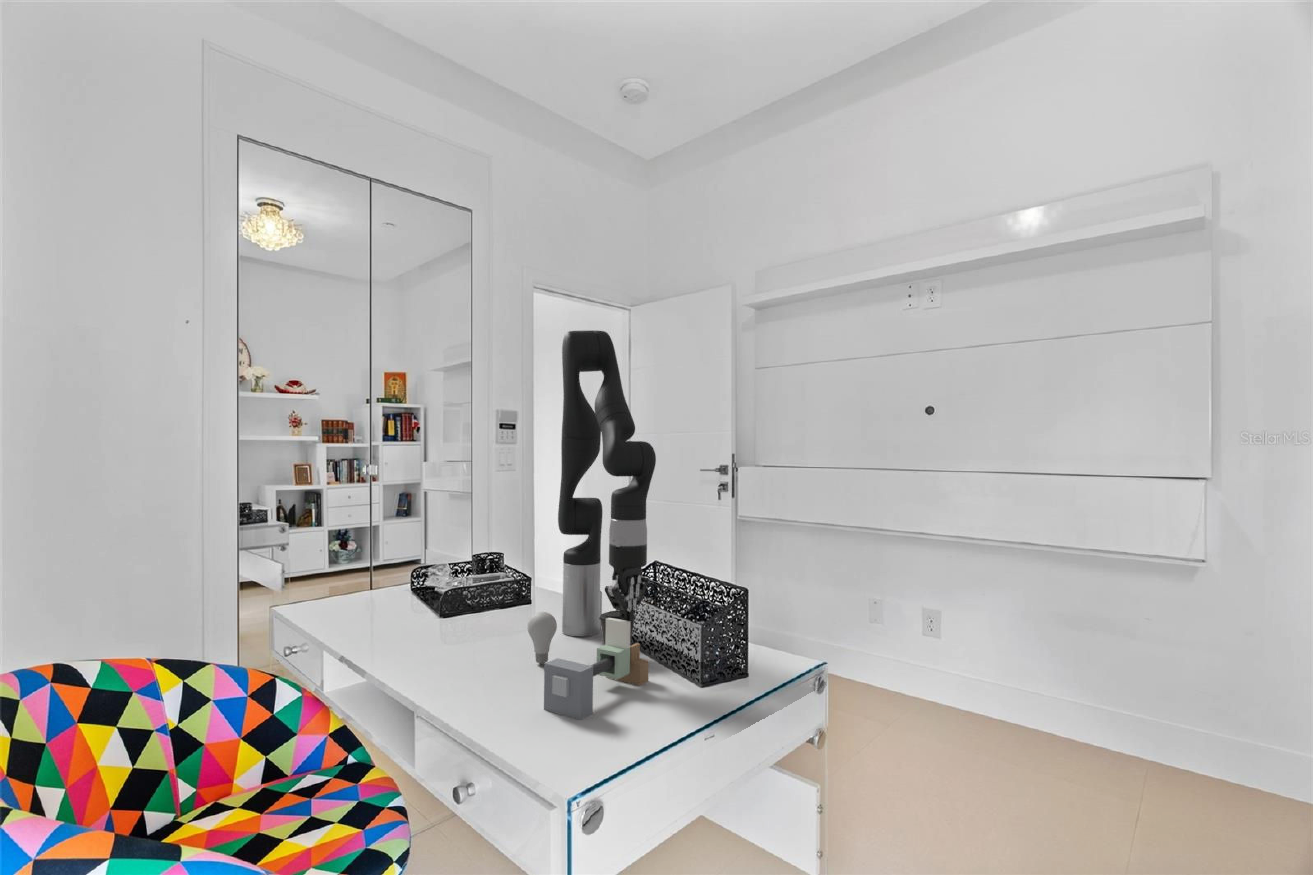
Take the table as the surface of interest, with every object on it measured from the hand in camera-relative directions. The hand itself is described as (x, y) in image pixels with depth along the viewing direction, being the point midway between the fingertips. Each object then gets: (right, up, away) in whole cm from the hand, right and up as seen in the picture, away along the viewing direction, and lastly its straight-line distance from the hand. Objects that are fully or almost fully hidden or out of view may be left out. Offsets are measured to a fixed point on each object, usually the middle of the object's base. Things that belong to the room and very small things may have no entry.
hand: (626, 629), depth 131 cm
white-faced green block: (-2, -8, -4) cm, 9 cm away
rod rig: (-5, -10, -8) cm, 13 cm away
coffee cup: (-3, -10, +13) cm, 17 cm away
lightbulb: (-18, -10, +9) cm, 23 cm away
